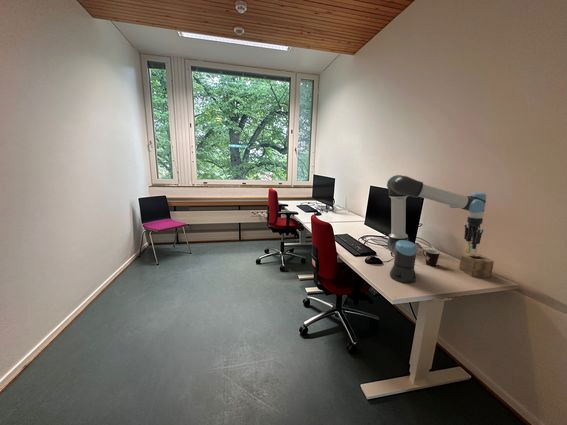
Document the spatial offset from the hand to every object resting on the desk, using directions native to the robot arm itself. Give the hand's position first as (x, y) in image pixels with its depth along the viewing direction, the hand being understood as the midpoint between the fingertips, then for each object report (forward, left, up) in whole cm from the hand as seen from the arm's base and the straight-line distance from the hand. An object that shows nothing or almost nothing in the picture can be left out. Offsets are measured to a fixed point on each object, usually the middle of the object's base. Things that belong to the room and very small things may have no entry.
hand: (469, 252), depth 153 cm
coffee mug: (-15, +15, -16) cm, 26 cm away
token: (0, 0, -1) cm, 1 cm away
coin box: (+7, +2, -15) cm, 17 cm away
